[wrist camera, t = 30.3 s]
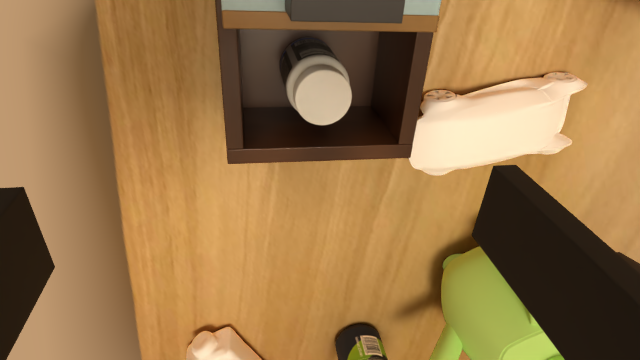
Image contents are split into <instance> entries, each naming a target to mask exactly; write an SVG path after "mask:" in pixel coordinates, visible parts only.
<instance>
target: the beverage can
mask: <svg viewBox="0 0 640 360" xmlns="http://www.w3.org/2000/svg"><path fill="white" fill-rule="evenodd" d="M335 346H336V351H337V356H338V360H388V359H387V356H386V353H385V350H384V347H383V344H382V341H381V338H380V335H379V333H378V332H377V330H375V329H374V328H372V327H370V326H368V325H364V324H357V325H353V326H350V327H348V328H346V329H345V330H343V331H342V332H341V333H340V335H339V337H338V338H337V340H336V345H335Z"/></svg>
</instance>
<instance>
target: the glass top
mask: <svg viewBox="0 0 640 360" xmlns="http://www.w3.org/2000/svg"><path fill="white" fill-rule="evenodd" d="M440 4H441V0H221V6H222V23H223V28H224V29H272V30H328V31H384V32H436V31H437V27H438V21H439V16H438V15H439V10H440Z"/></svg>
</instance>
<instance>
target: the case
mask: <svg viewBox="0 0 640 360" xmlns="http://www.w3.org/2000/svg"><path fill="white" fill-rule="evenodd" d="M215 4H216V17H217V30H218V43H219V56H220V69H221V82H222V95H223V108H224V121H225V134H226V147H227V160H228V164H241V163H271V162H300V161H330V160H359V159H389V158H410V157H411V152H412V147H413V140H414V135H415V130H416V124H417V119H418V113H419V108H420V103H421V97H422V92H423V86H424V81H425V76H426V70H427V65H428V59H429V54H430V49H431V43H432V38H433V32H384V31H328V30H272V29H224V28H223V23H222V6H221V0H215ZM305 37H312V38H316V39H319V40H321V41H323V42H324V43H325V44H327V45H328V46H329V48H330V49H331V50H332V52H333V53H334V54H335V55H336V57H337V58H338V59H339V61H340V62H341V63H342V65H343V66H344V68H345V69H346V71H347V73H348V76H349V82H350V87H351V91H352V100H351V104H350V107H349V109H348V111H347V112H346V114H345V115H344V116H343V117H342V118H341V119H339V120H338V121H336V122H334V123H332V124H328V125H315V124H312V123H310V122H308V121H306V120H305V119H304V118H303V117H302V116H301V115H300V114H299V112H298V111H297V110H296V109H295V108H294V107H293V106H292V105H291V103H290V101H289V100H288V97H287V94H286V90H285V86H284V84H283V79H282V75H281V71H280V61H281V57H282V54H283V52H284V51H285V49H286V48H287V47H288V46H289V45H290V44H291V43H292V42H294V41H296V40H298V39H300V38H305Z"/></svg>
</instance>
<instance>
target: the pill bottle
mask: <svg viewBox="0 0 640 360" xmlns="http://www.w3.org/2000/svg"><path fill="white" fill-rule="evenodd" d="M280 71H281V75H282V79H283V84H284V86H285V90H286V94H287V97H288V100H289V101H290V103H291V105H292V106H293V107H294V108H295V109H296V110H297V111H298V112H299V114H300V115H301V116H302V117H303V118H304V119H305V120H306V121H308V122H310V123H312V124H315V125H328V124H332V123H334V122H336V121H338V120H339V119H341V118H342V117H343V116H344V115H345V114H346V112H347V111H348V109H349V107H350V104H351V100H352V91H351V87H350V82H349V76H348V73H347V71H346V69H345V68H344V66H343V65H342V63H341V62H340V61H339V59H338V58H337V57H336V55H335V54H334V53H333V52H332V50H331V49H330V48H329V46H328V45H327V44H325V43H324V42H323V41H321V40H319V39H316V38H312V37H305V38H300V39H298V40H296V41H294V42H292V43H291V44H290V45H289V46H288V47H287V48H286V49H285V51H284V52H283V54H282V57H281V61H280Z"/></svg>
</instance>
